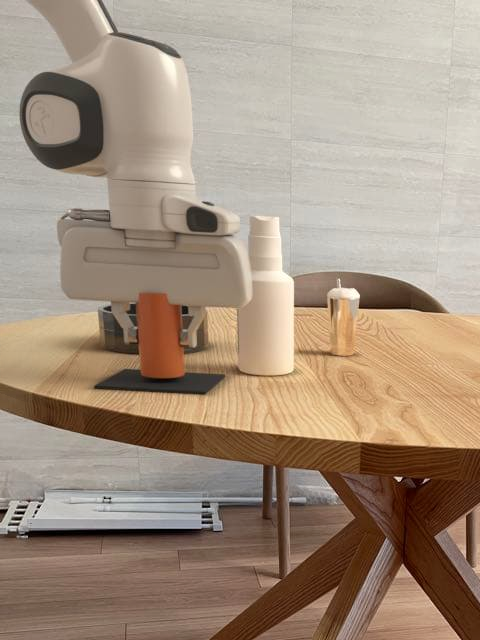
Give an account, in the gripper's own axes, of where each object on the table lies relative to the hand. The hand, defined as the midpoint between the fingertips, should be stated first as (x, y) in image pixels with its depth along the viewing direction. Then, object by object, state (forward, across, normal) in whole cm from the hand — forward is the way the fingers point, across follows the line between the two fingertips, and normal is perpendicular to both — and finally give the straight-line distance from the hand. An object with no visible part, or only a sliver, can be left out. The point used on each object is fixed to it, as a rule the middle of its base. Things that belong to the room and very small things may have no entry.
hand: (161, 345), depth 92 cm
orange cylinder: (+3, 0, 0) cm, 3 cm away
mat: (+4, 0, 0) cm, 4 cm away
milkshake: (+4, +18, +26) cm, 32 cm away
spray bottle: (+4, +10, +10) cm, 15 cm away
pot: (+4, -8, +24) cm, 26 cm away
